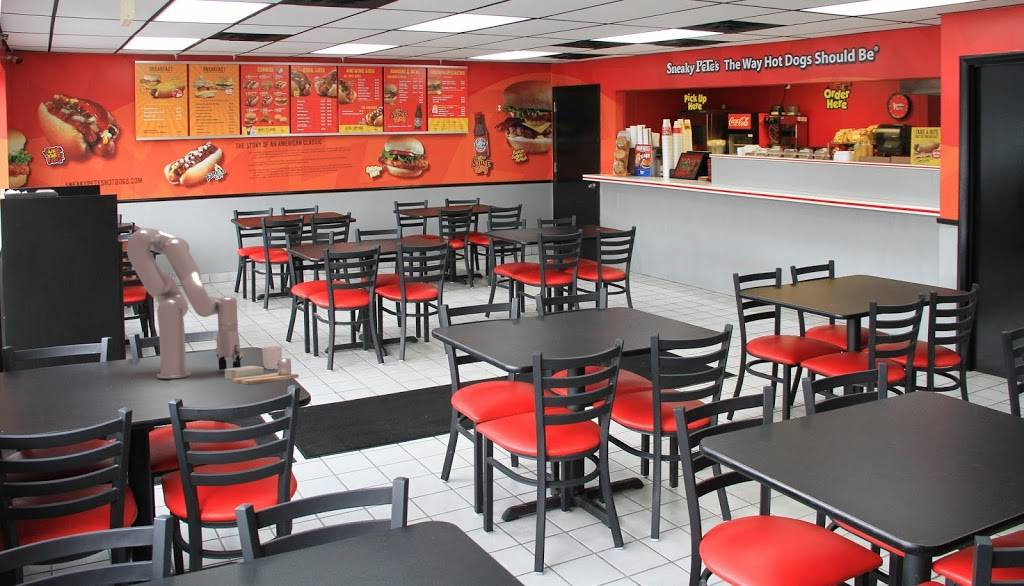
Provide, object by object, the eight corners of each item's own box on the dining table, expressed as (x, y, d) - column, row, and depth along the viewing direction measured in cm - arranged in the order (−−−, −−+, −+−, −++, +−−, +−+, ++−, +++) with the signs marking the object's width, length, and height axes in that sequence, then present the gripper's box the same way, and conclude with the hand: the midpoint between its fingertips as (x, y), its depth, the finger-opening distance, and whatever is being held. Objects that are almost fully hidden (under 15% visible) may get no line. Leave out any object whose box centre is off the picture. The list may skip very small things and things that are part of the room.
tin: (275, 375, 381) (274, 359, 381) (285, 373, 385) (285, 358, 385) (283, 375, 378) (283, 360, 378) (294, 374, 382) (293, 358, 381)
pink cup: (264, 370, 404) (263, 346, 404) (283, 369, 405) (283, 345, 405) (261, 372, 397) (260, 348, 396) (281, 372, 397) (280, 347, 397)
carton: (224, 379, 381) (224, 369, 381) (251, 375, 390) (251, 365, 390) (237, 381, 376) (237, 370, 375) (263, 377, 385) (263, 367, 384)
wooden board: (232, 381, 373) (231, 378, 373) (280, 375, 389) (280, 372, 389) (250, 384, 365) (250, 381, 365) (298, 377, 381) (298, 374, 381)
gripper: (207, 327, 391) (209, 370, 393) (232, 329, 380) (234, 373, 381) (223, 326, 397) (225, 367, 398) (248, 328, 386) (250, 371, 387)
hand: (229, 370), depth 390 cm, fingers open, 9 cm apart
